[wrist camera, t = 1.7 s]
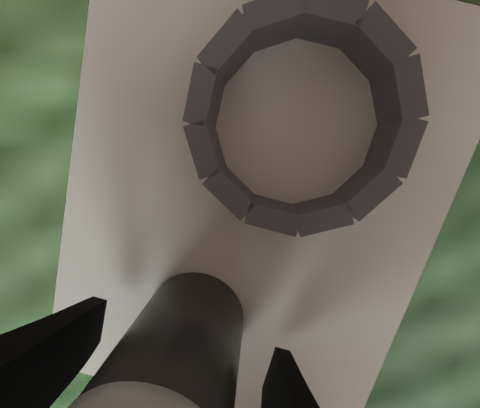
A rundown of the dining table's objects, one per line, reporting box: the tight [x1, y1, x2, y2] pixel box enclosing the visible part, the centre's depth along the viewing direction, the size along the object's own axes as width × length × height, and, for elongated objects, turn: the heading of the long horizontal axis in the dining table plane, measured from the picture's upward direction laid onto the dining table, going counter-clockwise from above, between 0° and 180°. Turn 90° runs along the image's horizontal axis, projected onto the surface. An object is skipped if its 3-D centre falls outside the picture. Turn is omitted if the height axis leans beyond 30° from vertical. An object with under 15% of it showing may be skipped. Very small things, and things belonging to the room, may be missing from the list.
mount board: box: [53, 0, 480, 408], centre depth 12 cm, size 20×16×3 cm
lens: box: [68, 272, 244, 408], centre depth 10 cm, size 5×5×7 cm
